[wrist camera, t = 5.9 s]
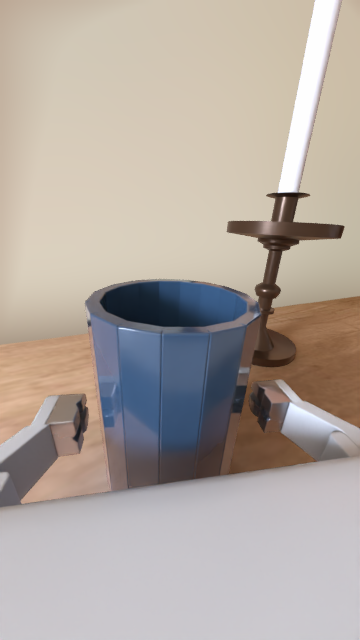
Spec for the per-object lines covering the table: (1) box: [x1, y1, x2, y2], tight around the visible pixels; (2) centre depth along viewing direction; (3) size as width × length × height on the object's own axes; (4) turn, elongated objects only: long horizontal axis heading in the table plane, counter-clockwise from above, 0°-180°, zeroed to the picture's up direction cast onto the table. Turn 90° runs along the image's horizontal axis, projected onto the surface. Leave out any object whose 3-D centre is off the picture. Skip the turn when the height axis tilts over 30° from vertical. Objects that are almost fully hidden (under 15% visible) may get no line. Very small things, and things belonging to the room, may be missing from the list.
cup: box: [85, 279, 262, 491], centre depth 11 cm, size 7×7×11 cm
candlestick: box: [227, 0, 344, 367], centre depth 21 cm, size 11×11×35 cm
